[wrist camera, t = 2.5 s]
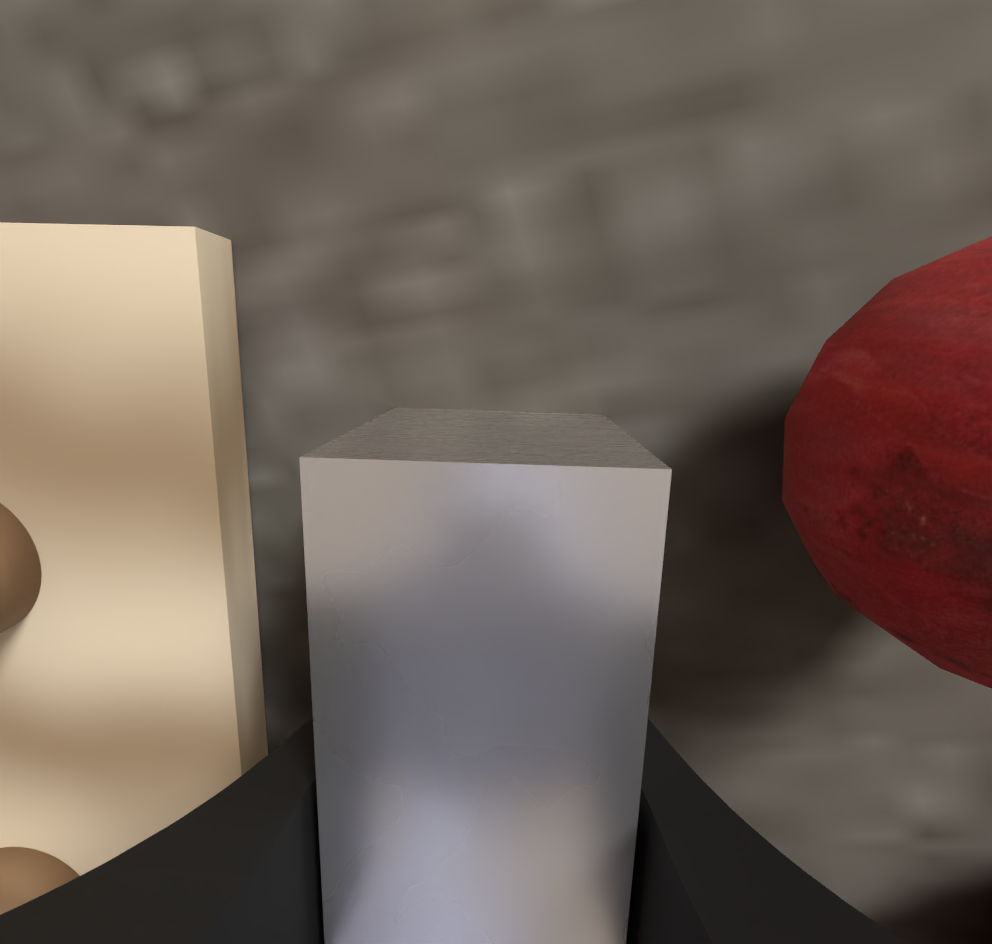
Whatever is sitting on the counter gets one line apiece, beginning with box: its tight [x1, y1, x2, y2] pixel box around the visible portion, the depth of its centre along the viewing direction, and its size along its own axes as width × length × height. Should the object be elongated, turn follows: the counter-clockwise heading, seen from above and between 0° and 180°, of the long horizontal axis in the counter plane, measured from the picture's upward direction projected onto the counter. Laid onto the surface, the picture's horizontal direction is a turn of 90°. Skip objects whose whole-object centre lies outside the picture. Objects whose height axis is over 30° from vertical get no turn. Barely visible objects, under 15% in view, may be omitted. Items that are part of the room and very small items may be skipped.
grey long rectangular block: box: [299, 408, 672, 944], centre depth 10 cm, size 12×4×5 cm, turn 179°
